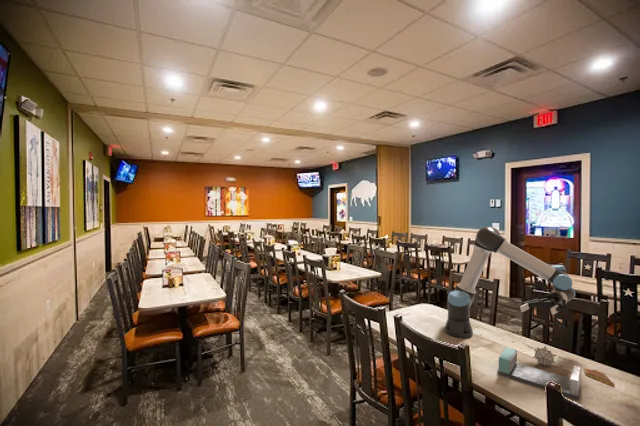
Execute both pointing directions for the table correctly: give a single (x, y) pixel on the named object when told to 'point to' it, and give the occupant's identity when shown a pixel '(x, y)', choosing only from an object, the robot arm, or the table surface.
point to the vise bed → (546, 378)
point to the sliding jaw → (507, 360)
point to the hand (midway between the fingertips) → (536, 310)
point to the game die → (544, 356)
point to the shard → (598, 376)
